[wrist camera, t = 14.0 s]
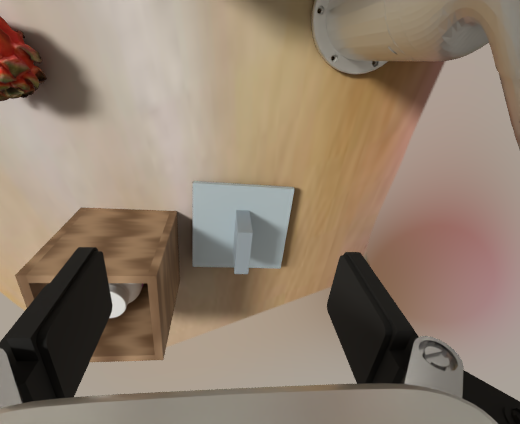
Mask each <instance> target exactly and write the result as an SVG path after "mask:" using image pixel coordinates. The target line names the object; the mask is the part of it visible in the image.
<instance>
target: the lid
mask: <svg viewBox="0 0 520 424" xmlns="http://www.w3.org/2000/svg"><path fill="white" fill-rule="evenodd" d="M293 195H294V187H284V186H267V185H251V184H234V183H218V182H202V181H193V267H233V268H234V274H248V271H249V268H281V263H282V257H283V251H284V246H285V240H286V234H287V229H288V223H289V217H290V212H291V206H292V200H293Z"/></svg>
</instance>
